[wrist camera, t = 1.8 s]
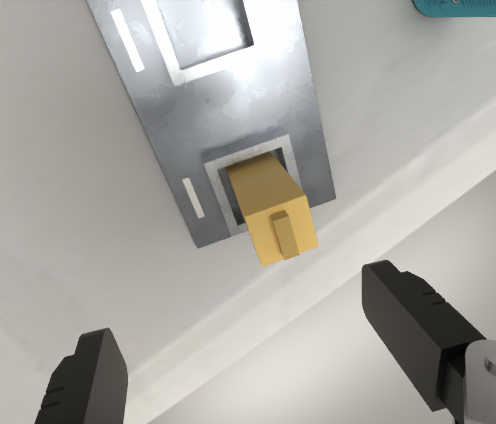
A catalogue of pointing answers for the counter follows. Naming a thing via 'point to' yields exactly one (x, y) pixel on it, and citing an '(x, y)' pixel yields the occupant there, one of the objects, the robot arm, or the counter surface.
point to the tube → (457, 8)
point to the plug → (272, 208)
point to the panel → (219, 97)
